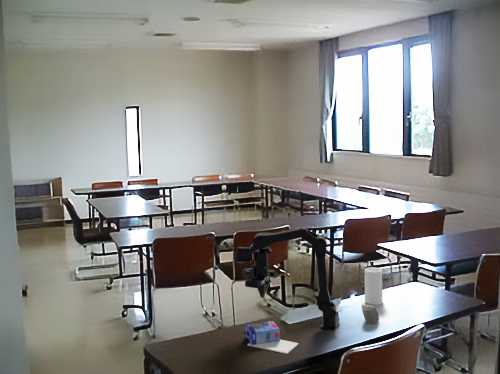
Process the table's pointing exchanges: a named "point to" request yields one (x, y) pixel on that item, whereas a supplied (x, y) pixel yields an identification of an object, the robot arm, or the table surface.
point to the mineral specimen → (370, 314)
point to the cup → (373, 285)
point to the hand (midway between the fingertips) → (262, 297)
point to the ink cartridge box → (262, 332)
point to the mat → (277, 346)
